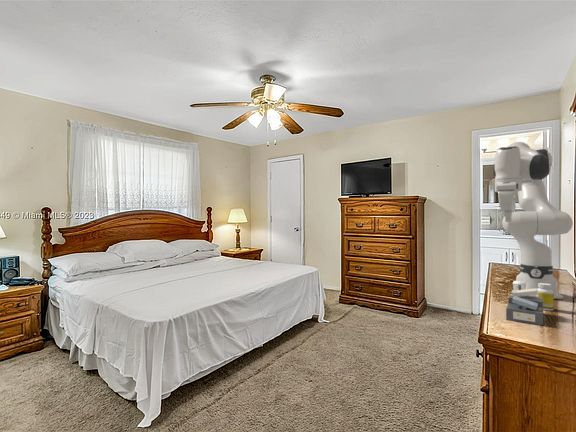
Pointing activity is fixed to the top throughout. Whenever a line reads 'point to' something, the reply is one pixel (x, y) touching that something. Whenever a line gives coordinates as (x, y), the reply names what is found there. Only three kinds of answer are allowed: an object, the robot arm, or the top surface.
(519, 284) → the milkshake
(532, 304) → the rocker front
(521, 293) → the rocker rear
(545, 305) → the supplement bottle
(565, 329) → the top surface
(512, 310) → the console
